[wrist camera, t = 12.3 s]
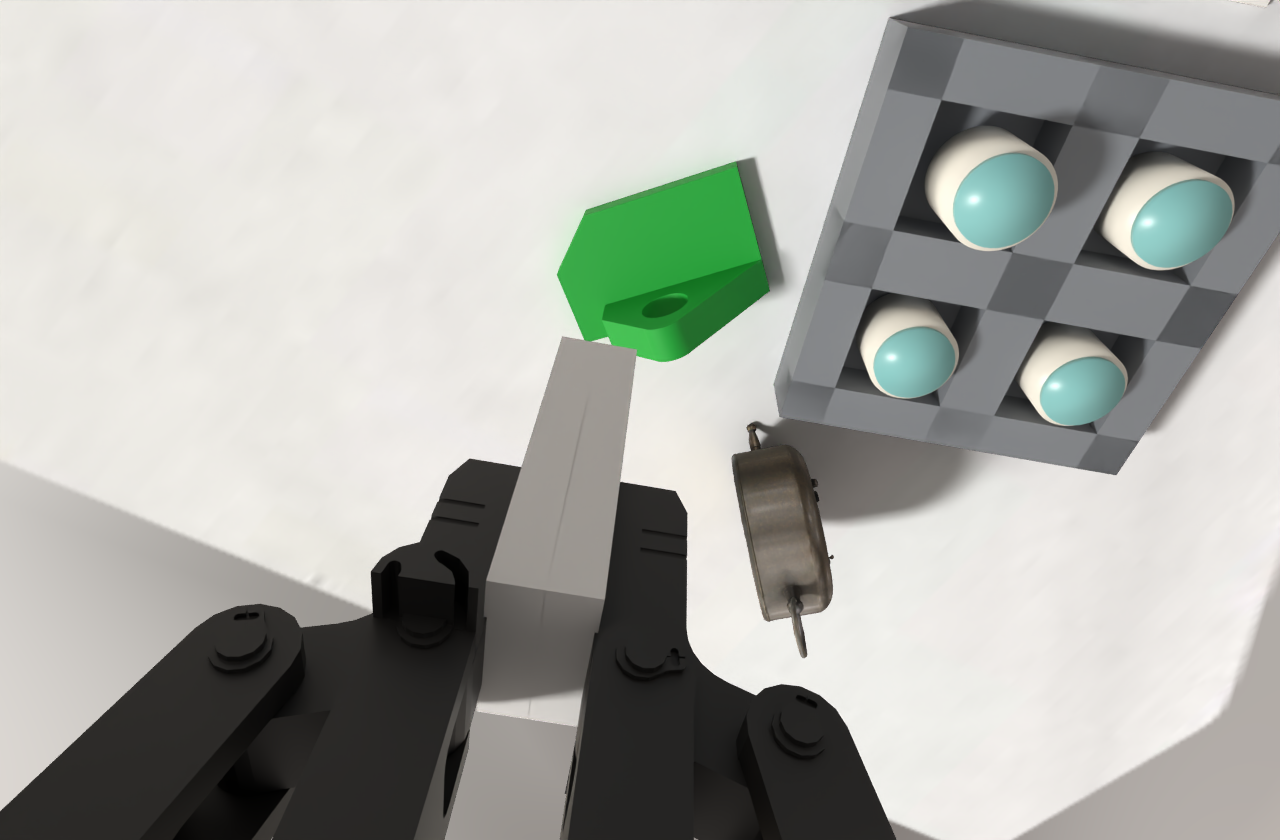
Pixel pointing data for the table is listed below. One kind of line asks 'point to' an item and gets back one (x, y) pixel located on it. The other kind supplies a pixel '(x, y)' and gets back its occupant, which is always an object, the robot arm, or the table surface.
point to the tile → (1254, 2)
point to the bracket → (665, 265)
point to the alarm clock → (783, 533)
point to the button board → (1023, 242)
